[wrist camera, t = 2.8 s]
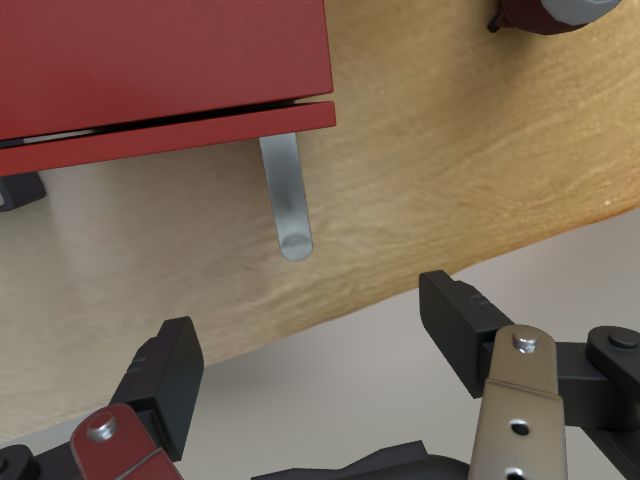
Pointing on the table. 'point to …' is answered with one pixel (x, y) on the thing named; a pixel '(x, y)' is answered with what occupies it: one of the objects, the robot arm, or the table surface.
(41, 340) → the table surface
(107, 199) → the table surface
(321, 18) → the cabinet
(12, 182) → the calculator
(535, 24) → the mate gourd
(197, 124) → the red cabinet door
